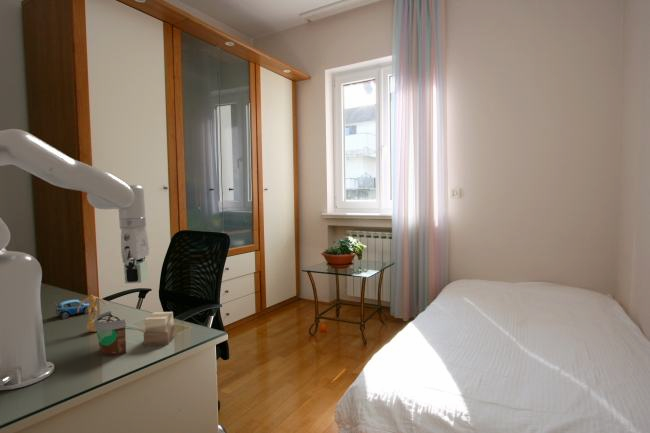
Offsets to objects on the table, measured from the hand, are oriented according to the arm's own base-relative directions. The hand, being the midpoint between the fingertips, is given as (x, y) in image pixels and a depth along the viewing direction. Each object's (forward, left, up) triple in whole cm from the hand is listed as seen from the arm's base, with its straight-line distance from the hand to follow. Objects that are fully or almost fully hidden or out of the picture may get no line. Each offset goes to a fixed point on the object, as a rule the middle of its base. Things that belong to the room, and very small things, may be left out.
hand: (136, 278), depth 122 cm
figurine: (+2, +16, -17) cm, 24 cm away
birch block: (-9, -10, -14) cm, 19 cm away
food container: (-16, +2, -17) cm, 24 cm away
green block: (0, 0, -1) cm, 1 cm away
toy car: (+20, +33, -18) cm, 43 cm away
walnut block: (-9, -10, -18) cm, 22 cm away
